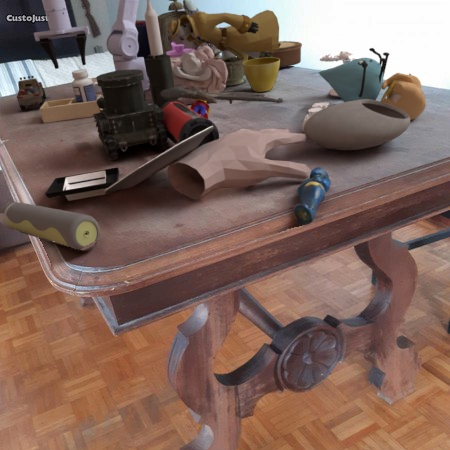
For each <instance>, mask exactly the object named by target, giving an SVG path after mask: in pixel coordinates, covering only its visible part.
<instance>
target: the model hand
mask: <svg viewBox="0 0 450 450" xmlns="http://www.w3.org/2000/svg"><path fill="white" fill-rule="evenodd" d="M306 139H307V137H306V134H304V133H300V132H299V133H298V132H291V131H290V129H289V128H284V129H281V128H280V129H279V128H263V129H256V130H254V129H248V128H240V129H238V130H236V131H233V132H229V133H227V134H225V135H223V136H221V137H219V139H218V140H215V141H212V142H209V143H206V144H203V145H202V146H200V147H198V148H197V149H195V150H193V151H192V152H190V153H188V154H186V155H184V156H183V157H181V158H179V159H177V160H176V161H174V162H173V163H171V164H170V165H169V166H168V167H167V176H168V180H169V183H170V184H171V186H172V187H173V188H174V189H175V190H176V191H178V192H179V193H180V194H181V195H184V196H186V197H188V198H189V199H194V200H199V199H201V198H202V197H204V196H205V195H207V194H209V193H210V192H212V191H213V190H219V189H232V188H233V189H235V188H236V189H237V188H247V187H249V186H253V185H255V184H258V183H261V182H264V181H265V180H267V179H269V178H288V179H298V180H307V179H308V177H310V173H311V171H312V170H313V169H311V168H310V167H309V166H308V165H307V164H305V163H299V162H295V161H289V160H276V159H275V160H274V159H268V158H266V154H267V153H268V151H270V150H271V149H272V148H276V147H281V146H288V145H298V144H299V145H300V144H301V145H302V144H304V143H305V142H306ZM215 188H216V189H215Z"/></svg>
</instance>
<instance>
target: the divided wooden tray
mask: <svg viewBox="0 0 450 450" xmlns="http://www.w3.org/2000/svg"><path fill="white" fill-rule="evenodd" d="M102 96H103V95H102V94H101V93H99V94H96V97H97V99H99V98H101V97H102ZM102 98H103V97H102ZM97 99H96V101H89V102H82V103H77V101H76V97H67V98H62V99H54V100H47V101H45V102H44V103H43V105H42V106H40V107H39V112H40V115H41V118H42V121H43V123H44V124H47V123H48V124H49V123H54V122H62V121H68V120H70V121H71V120H76V119H83V118H91V117H94V116H93V115H94V114H96V113H100V110H103V109H101V108H100V109H99V107H98V105H97Z"/></svg>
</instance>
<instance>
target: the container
mask: <svg viewBox="0 0 450 450" xmlns="http://www.w3.org/2000/svg"><path fill="white" fill-rule="evenodd" d="M279 43H281V45H280V47H279V49H278V50H272V51H268V52H267V54H269V55H270V56H272V57H275V58H279V59H280V66H279V69H280V68H286V67H291V66H296V65H298V64H300V63H301V61H302V46H303V43H301V42H299V41H290V40H289V41H286V40H283V41H282V40H281V41H279ZM261 54H262V52H260V53H259V58H260V56H261ZM262 57H263V58H265V57H266V55H265V51H264V54H263V55H262ZM251 59H254V58H253V57H251V56H248V60H251Z"/></svg>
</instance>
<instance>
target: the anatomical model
mask: <svg viewBox="0 0 450 450" xmlns="http://www.w3.org/2000/svg"><path fill="white" fill-rule="evenodd" d="M213 58H214V53H213V51H212V49H211V48H210V47H209V46H203V47H201V48H200V49H198V50H196V51H190V52H189V53H185V52H184V53H183V54H182V56H179V57H173V58H170V59H171V66H172V72H173V79H174V86H175V87H176V86H182V87H183V88H185V89H188V90H192V89H195V88H196V89H200V90H201V91H202V92H212V93H223V91H224V90H225V88H226V87H227V86H226V85H225V84H226V80H227V76H228V71H227V68H226V65H225V62H224V61H223V60H221V59H219V60H215V59H213ZM196 100H197V99H192V98H190V99H189V98H183V97H180V98H178V99H177V101H180V102H182V103H184V104H185V105H189V106H190V105H192V104H193V103H195V102H196Z"/></svg>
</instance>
